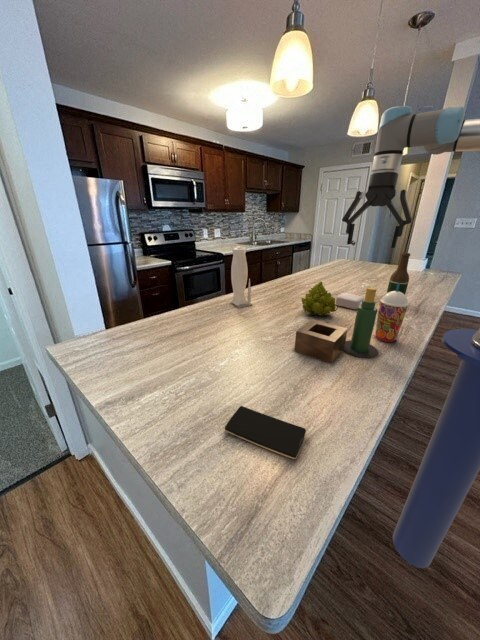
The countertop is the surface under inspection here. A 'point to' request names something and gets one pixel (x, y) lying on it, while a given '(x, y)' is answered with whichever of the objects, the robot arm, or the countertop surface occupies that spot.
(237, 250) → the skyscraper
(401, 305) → the smoothie
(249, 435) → the smartphone
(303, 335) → the holder
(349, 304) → the charger
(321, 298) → the vegetable
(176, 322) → the countertop surface
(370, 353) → the coaster
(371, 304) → the bottle
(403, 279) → the beer bottle
